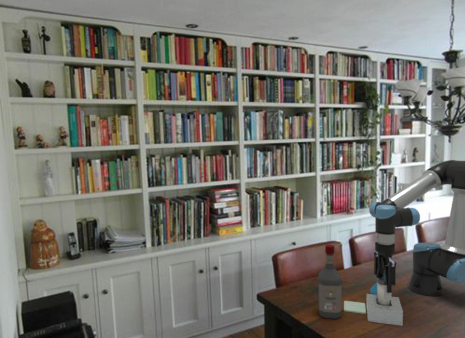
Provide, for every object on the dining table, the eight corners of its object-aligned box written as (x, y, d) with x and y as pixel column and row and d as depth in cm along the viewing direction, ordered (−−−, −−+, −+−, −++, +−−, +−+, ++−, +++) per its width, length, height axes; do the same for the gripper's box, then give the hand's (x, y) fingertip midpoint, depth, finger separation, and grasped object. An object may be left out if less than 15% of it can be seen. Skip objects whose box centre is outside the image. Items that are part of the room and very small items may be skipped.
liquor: (341, 319, 147) (342, 249, 144) (319, 318, 148) (319, 248, 145) (339, 309, 156) (339, 243, 153) (317, 307, 157) (318, 242, 154)
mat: (365, 304, 159) (365, 303, 159) (365, 314, 151) (365, 312, 151) (344, 301, 162) (344, 300, 162) (344, 311, 154) (344, 309, 154)
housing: (398, 310, 153) (398, 297, 153) (402, 325, 141) (402, 311, 140) (366, 306, 157) (366, 293, 157) (367, 321, 145) (368, 307, 144)
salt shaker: (386, 304, 152) (386, 277, 150) (393, 310, 146) (393, 282, 145) (374, 305, 151) (375, 278, 150) (381, 311, 146) (381, 283, 145)
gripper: (365, 236, 155) (365, 287, 157) (388, 249, 137) (387, 307, 139) (382, 235, 156) (381, 286, 158) (406, 248, 138) (405, 305, 140)
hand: (384, 296), depth 148 cm, fingers closed on salt shaker, 5 cm apart
